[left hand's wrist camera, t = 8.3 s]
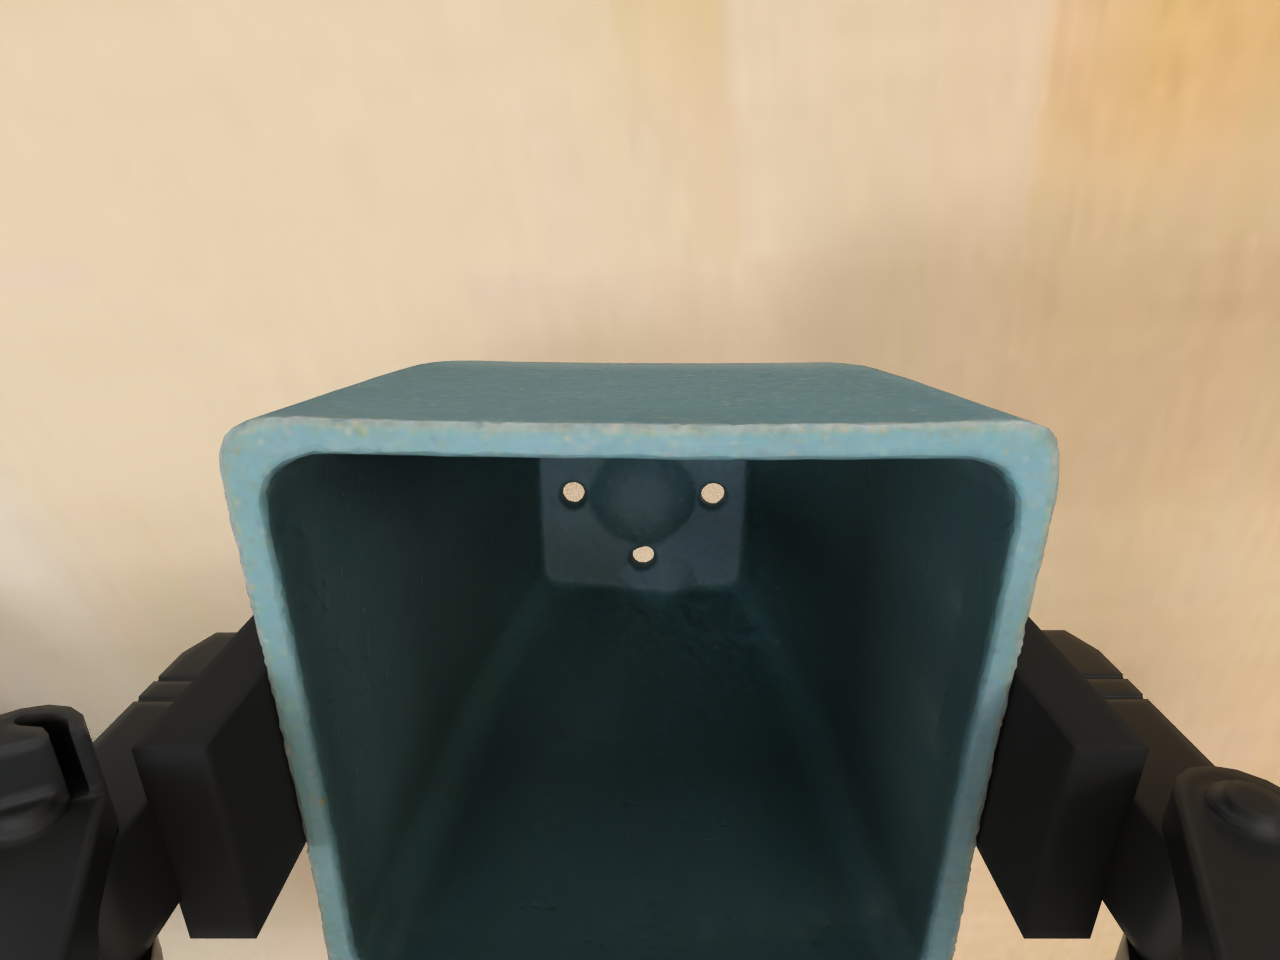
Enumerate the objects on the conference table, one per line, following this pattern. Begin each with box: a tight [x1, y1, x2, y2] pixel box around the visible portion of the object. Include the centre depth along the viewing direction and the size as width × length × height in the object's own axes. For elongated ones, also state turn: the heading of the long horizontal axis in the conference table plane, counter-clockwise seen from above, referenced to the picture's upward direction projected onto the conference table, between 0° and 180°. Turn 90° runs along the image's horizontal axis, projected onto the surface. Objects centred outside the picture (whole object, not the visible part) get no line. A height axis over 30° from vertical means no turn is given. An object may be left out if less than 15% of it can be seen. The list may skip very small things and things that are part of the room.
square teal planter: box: [219, 361, 1059, 960], centre depth 13 cm, size 9×9×9 cm
